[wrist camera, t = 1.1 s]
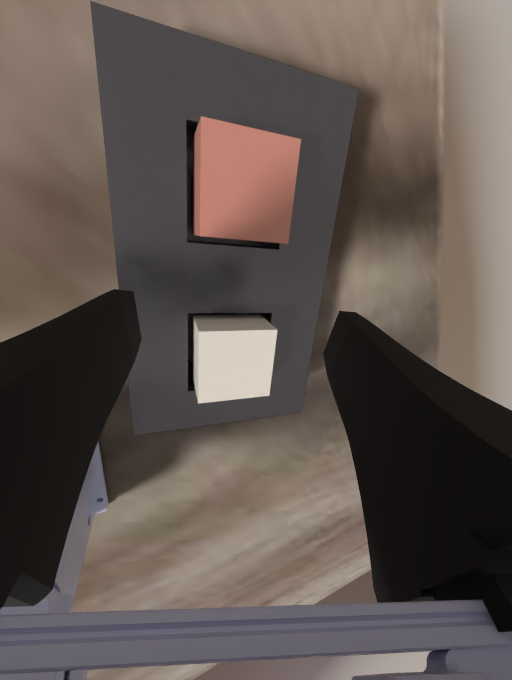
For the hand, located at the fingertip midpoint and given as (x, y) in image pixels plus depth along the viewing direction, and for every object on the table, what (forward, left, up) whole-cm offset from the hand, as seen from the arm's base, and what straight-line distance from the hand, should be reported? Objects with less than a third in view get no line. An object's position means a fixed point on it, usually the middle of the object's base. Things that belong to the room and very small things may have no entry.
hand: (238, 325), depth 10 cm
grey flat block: (+1, -1, -10) cm, 10 cm away
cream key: (-4, -1, -7) cm, 8 cm away
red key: (+5, -1, -7) cm, 9 cm away
